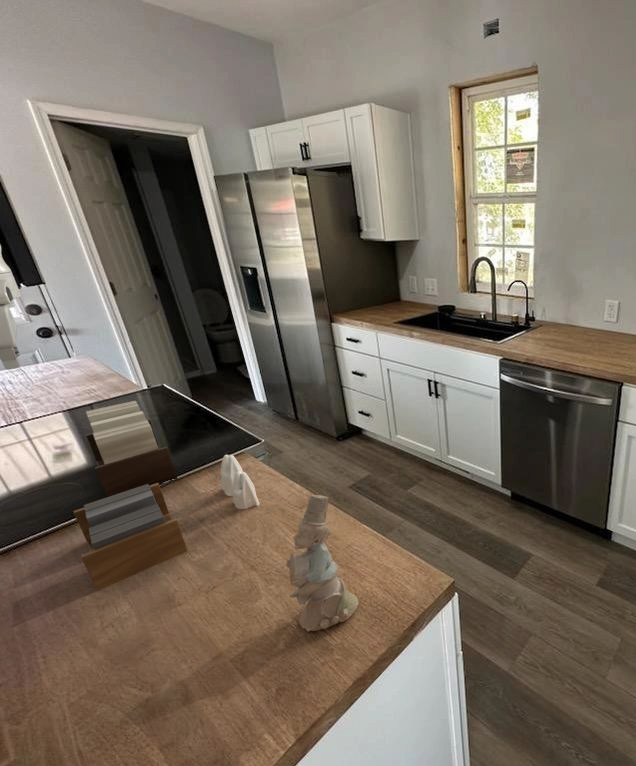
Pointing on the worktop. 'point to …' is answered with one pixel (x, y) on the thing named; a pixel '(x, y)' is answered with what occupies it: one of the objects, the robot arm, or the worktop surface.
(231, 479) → the shaker set
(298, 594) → the figurine
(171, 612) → the worktop surface
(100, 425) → the white book
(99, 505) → the coaster holder
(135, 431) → the brown wooden crate
